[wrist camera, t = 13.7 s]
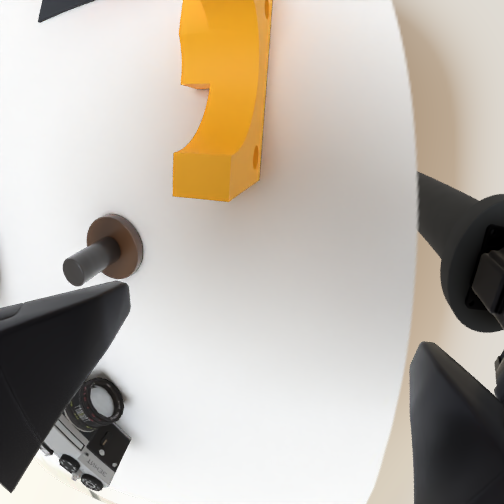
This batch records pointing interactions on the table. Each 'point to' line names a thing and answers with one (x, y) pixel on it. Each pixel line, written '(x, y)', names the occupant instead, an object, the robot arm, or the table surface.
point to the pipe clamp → (224, 95)
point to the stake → (106, 251)
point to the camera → (90, 434)
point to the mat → (58, 7)
